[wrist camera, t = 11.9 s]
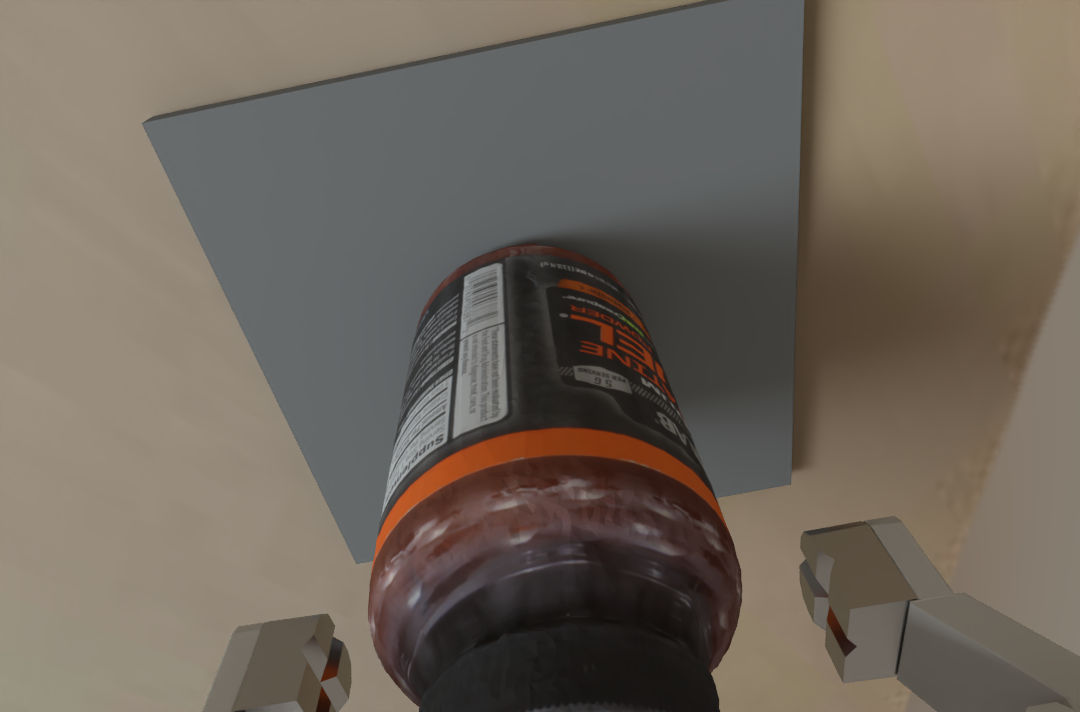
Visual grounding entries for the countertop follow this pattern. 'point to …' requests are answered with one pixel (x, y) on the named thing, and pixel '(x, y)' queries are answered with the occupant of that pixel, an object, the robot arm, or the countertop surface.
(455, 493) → the supplement bottle
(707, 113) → the mat
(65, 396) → the countertop surface
